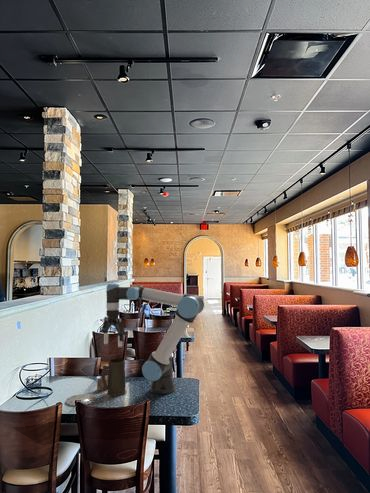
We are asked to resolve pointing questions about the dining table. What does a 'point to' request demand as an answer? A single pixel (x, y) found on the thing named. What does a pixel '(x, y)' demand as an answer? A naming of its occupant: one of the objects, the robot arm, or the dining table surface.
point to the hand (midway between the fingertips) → (113, 345)
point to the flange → (83, 397)
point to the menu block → (101, 383)
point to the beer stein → (114, 377)
